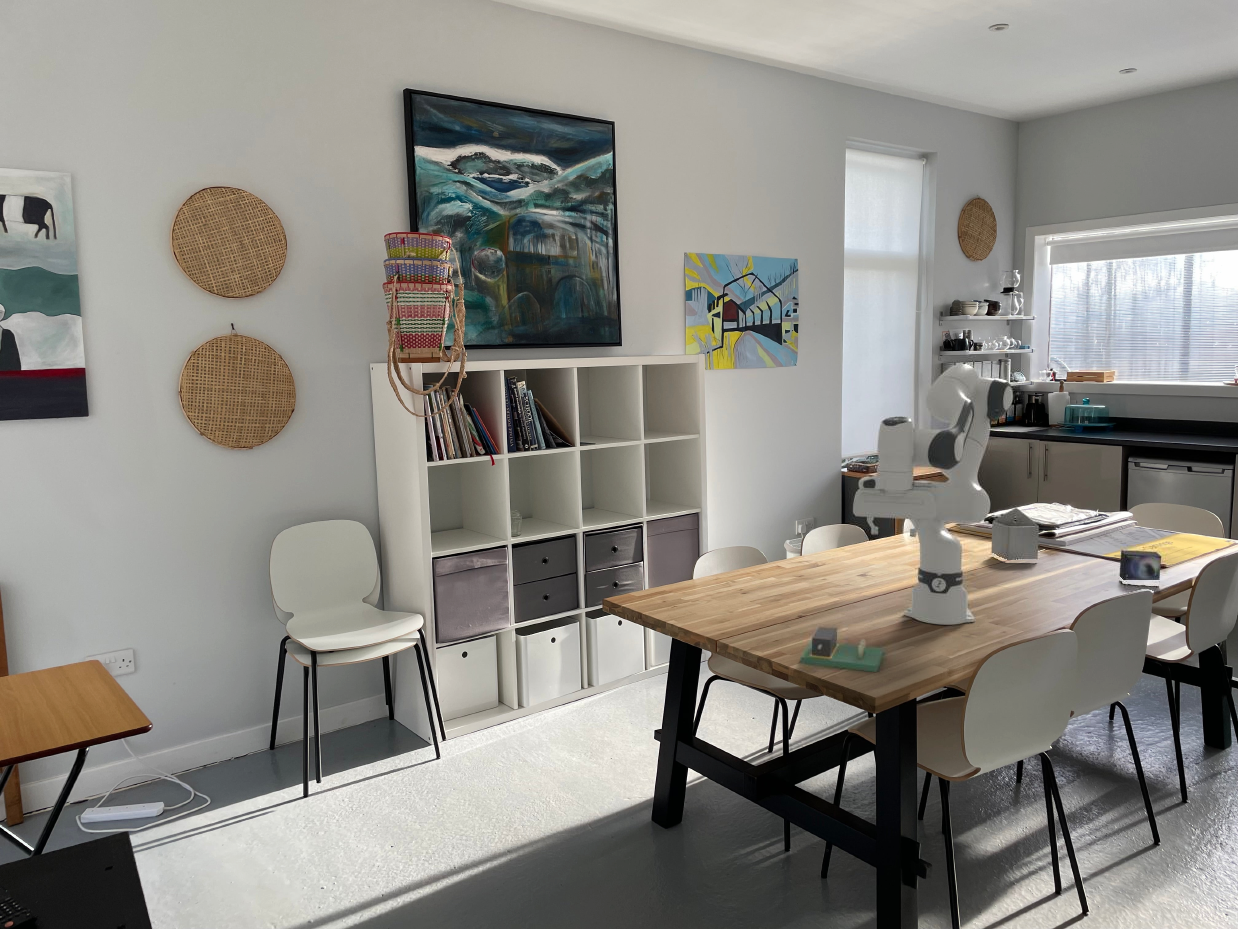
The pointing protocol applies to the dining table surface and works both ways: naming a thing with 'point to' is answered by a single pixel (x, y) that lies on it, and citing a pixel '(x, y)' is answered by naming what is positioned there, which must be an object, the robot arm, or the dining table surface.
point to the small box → (1140, 565)
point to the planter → (1015, 536)
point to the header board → (847, 657)
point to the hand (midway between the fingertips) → (893, 535)
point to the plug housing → (824, 641)
